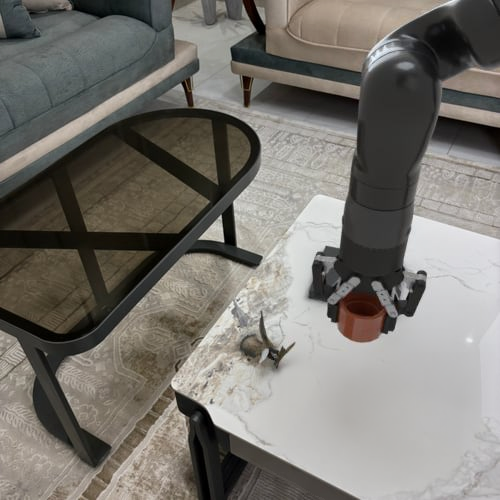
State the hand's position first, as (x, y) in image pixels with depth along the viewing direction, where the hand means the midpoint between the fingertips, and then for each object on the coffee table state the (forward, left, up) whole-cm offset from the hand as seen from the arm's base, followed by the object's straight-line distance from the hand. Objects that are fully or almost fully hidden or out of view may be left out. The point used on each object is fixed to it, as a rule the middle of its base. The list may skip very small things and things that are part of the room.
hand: (359, 323), depth 67 cm
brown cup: (0, 0, -1) cm, 1 cm away
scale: (+3, -26, -18) cm, 32 cm away
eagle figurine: (+15, -4, -18) cm, 24 cm away
